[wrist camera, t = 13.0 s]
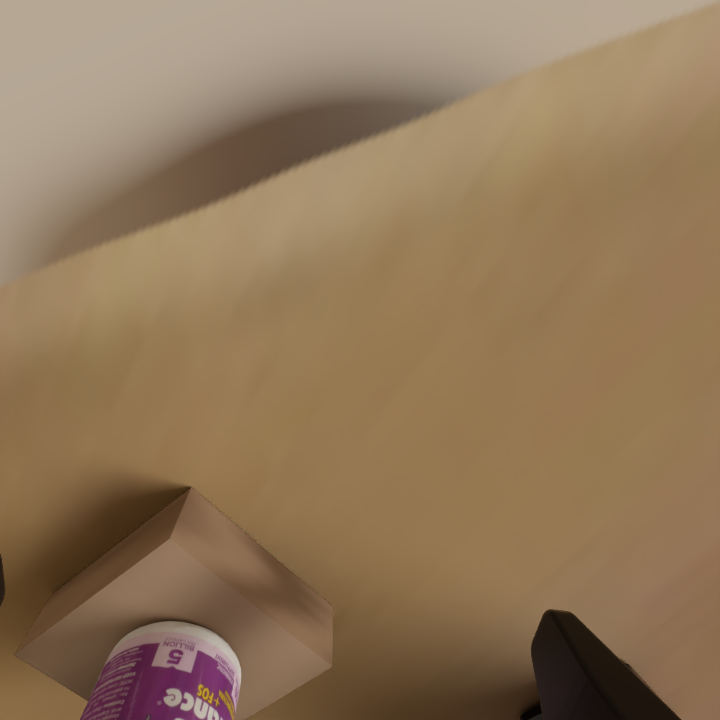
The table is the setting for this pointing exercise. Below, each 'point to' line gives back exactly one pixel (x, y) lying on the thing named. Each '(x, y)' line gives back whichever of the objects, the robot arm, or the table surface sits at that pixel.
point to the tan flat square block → (187, 605)
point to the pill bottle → (167, 676)
